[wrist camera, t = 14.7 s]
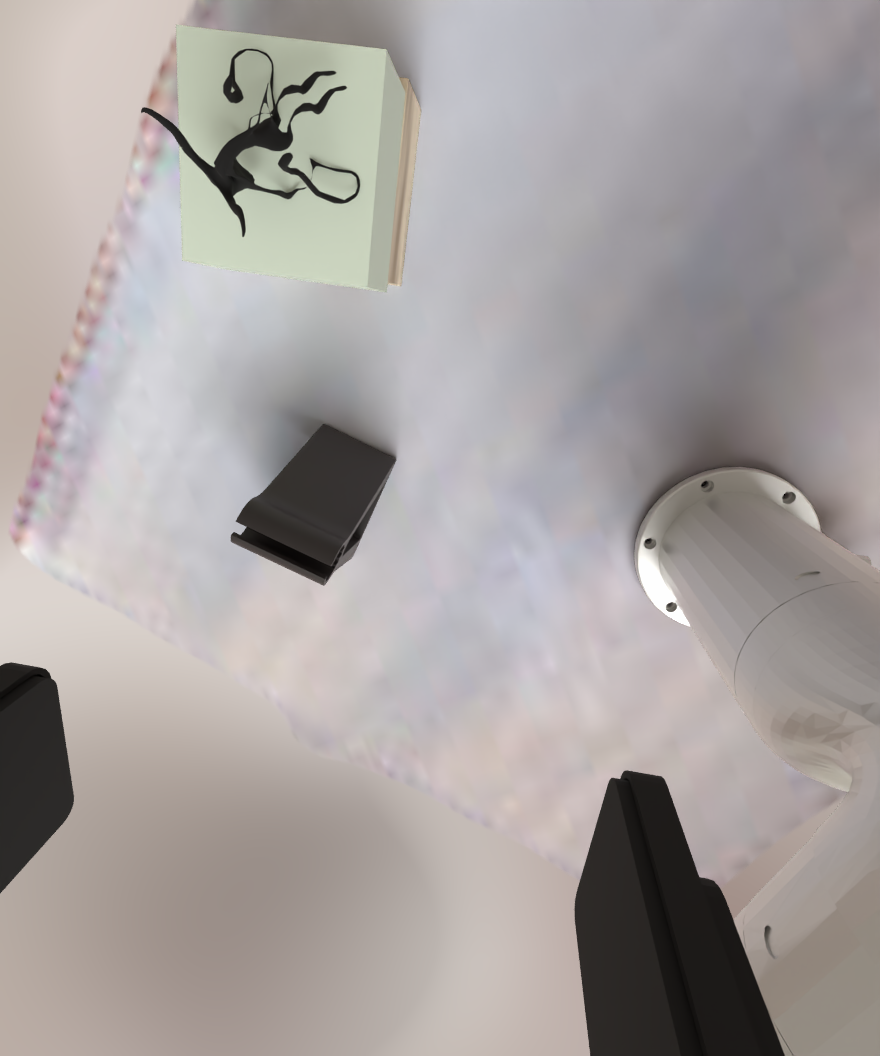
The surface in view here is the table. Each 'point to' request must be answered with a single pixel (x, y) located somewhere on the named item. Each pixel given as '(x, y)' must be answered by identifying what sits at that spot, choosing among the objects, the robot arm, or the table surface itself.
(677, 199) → the table surface
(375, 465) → the phone stand
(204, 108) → the tower top
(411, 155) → the tower base
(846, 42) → the table surface
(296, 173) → the creature
